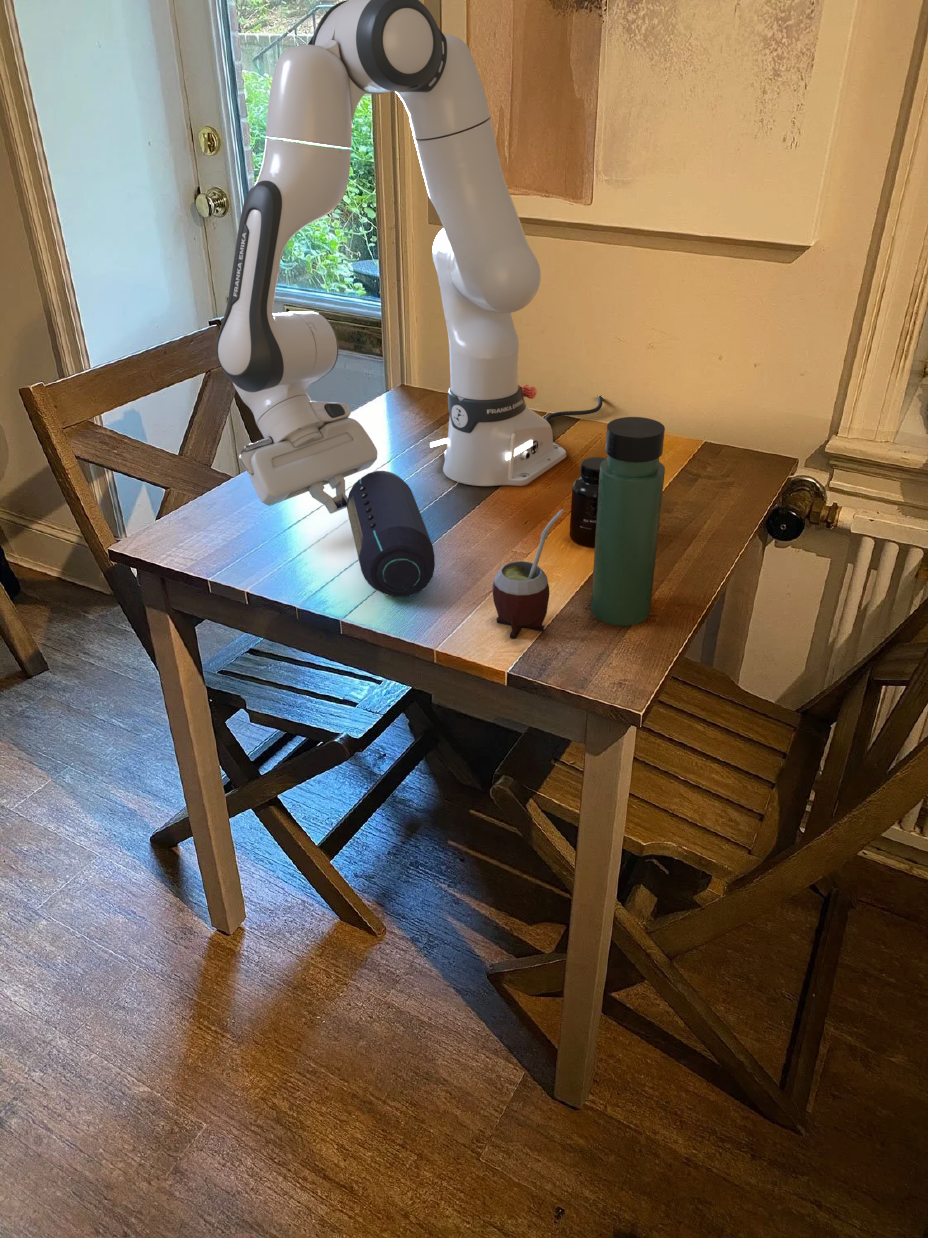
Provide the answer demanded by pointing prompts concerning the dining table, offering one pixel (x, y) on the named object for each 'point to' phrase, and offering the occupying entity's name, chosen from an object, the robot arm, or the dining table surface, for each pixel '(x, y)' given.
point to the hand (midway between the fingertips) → (340, 509)
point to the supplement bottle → (585, 503)
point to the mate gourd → (523, 591)
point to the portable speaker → (390, 535)
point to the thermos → (628, 521)
